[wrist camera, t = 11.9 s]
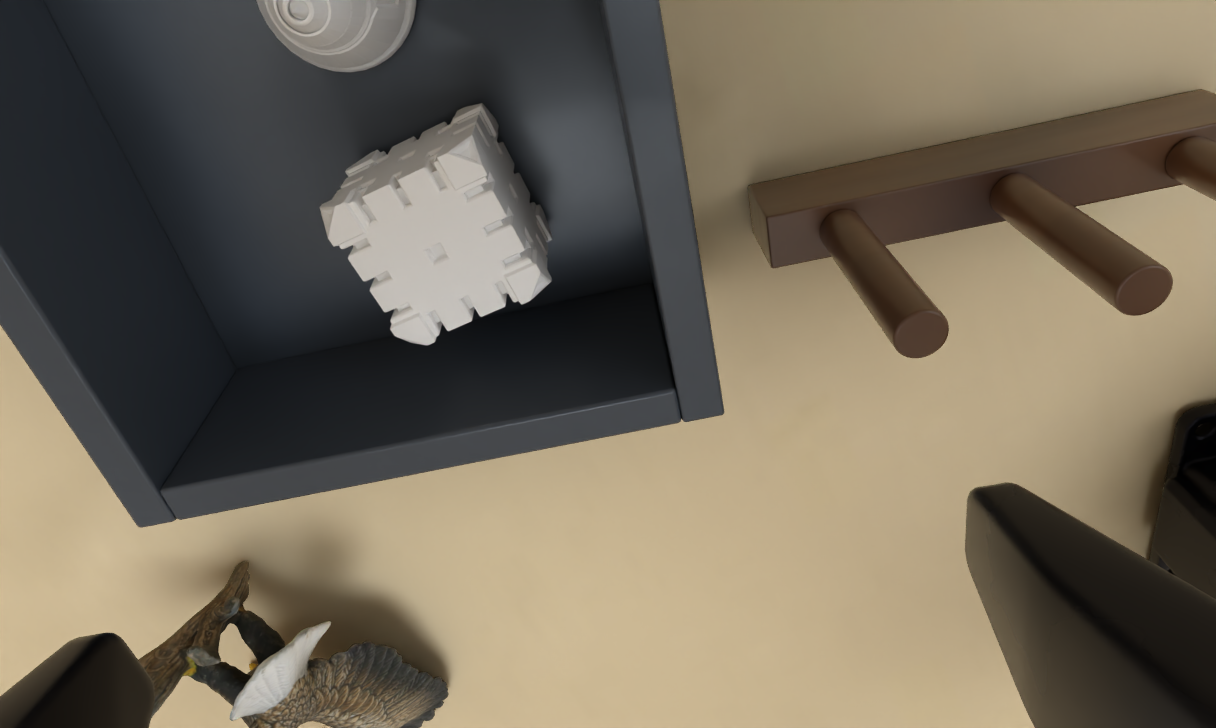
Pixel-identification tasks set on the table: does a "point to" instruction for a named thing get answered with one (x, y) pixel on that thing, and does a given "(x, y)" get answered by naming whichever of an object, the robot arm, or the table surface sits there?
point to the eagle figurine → (292, 672)
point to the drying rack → (994, 205)
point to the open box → (307, 261)
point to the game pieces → (421, 188)
